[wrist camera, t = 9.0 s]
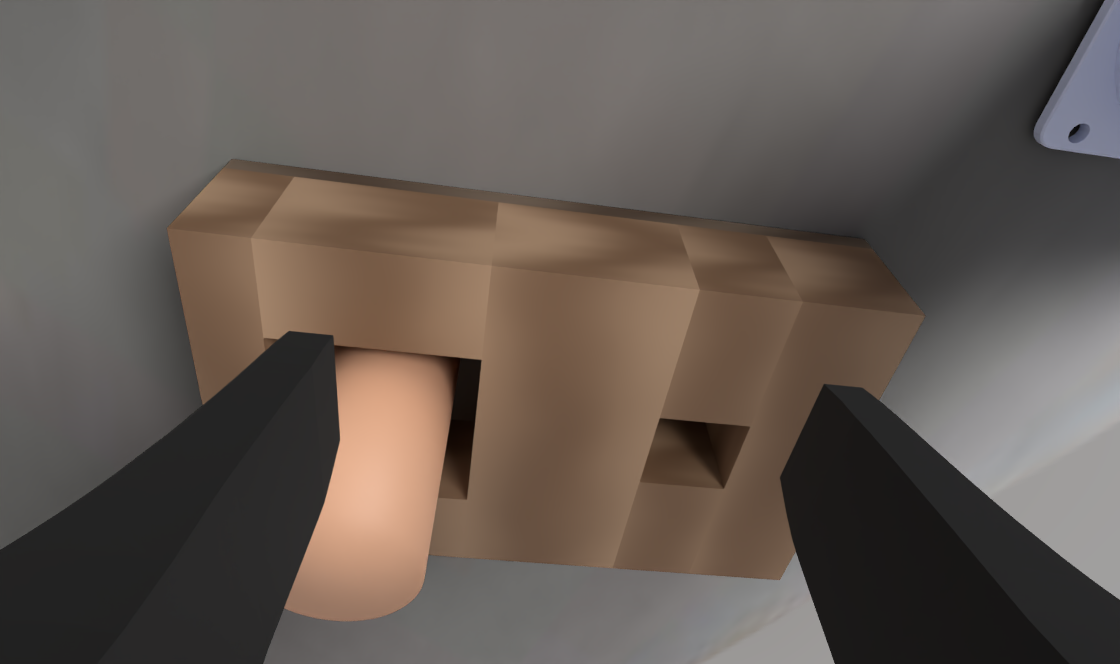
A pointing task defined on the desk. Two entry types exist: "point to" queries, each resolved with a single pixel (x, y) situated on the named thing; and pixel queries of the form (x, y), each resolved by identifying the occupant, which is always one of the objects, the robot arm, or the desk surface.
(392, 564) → the pin
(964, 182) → the desk surface
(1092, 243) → the desk surface
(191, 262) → the socket block
